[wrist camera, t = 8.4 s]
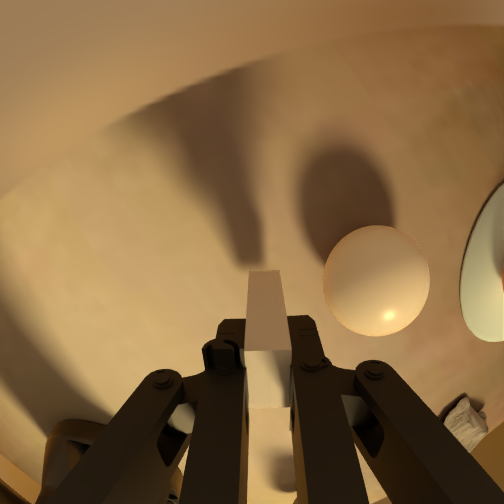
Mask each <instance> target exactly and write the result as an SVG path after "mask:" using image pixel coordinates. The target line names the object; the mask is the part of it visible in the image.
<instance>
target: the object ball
mask: <svg viewBox="0 0 504 504" xmlns="http://www.w3.org/2000/svg"><path fill="white" fill-rule="evenodd" d="M502 285H503V291H504V269H503V275H502Z"/></svg>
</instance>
